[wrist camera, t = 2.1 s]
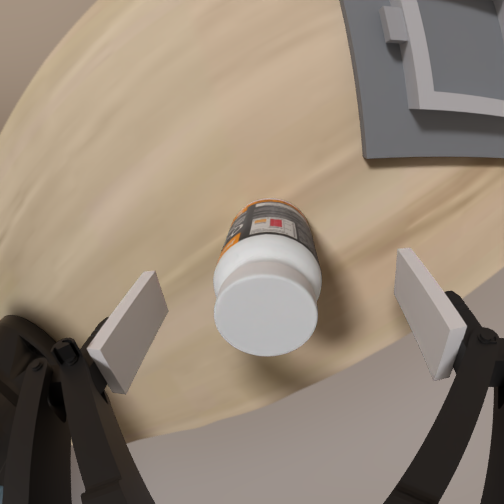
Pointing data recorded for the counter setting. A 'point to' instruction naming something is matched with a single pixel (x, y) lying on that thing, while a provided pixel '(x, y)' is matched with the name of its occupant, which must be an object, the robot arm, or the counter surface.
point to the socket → (428, 76)
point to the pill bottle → (267, 280)
